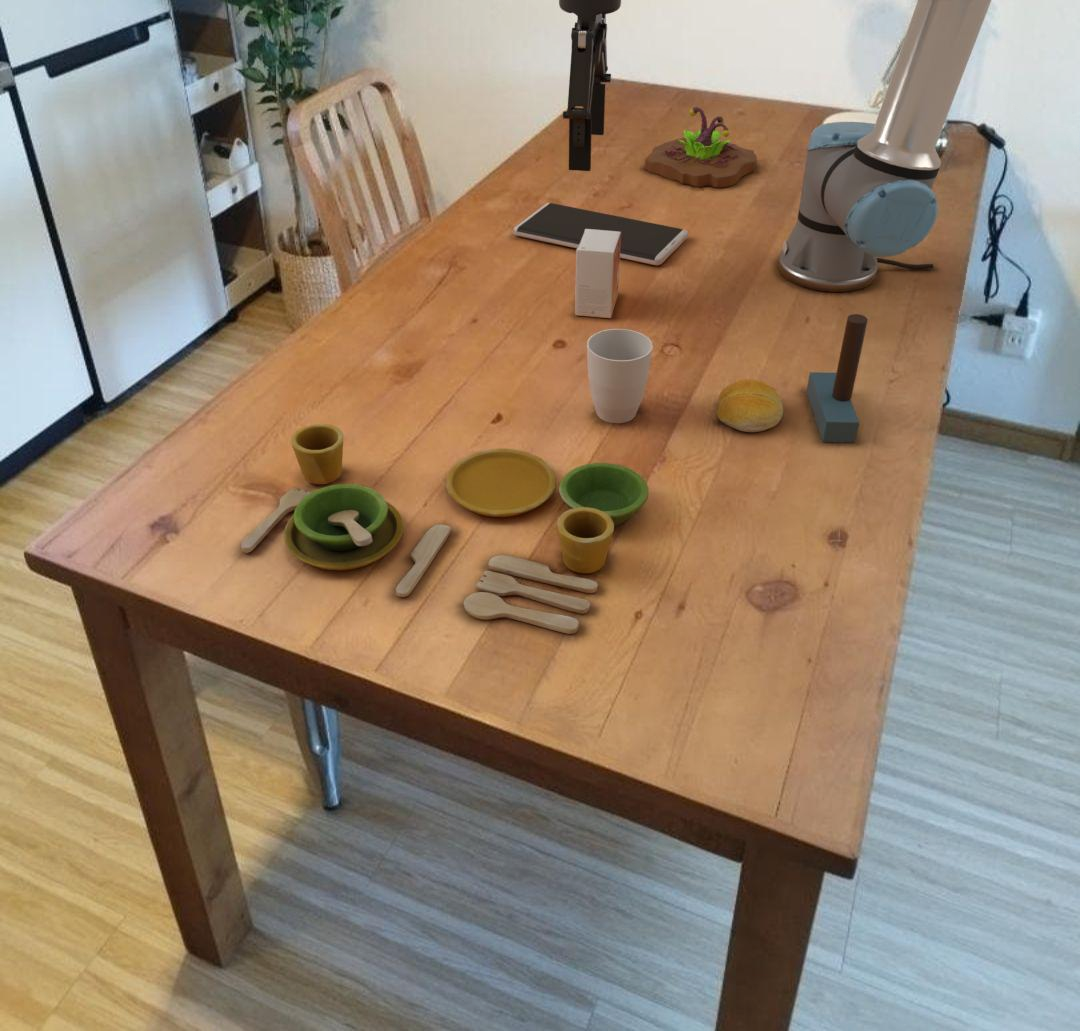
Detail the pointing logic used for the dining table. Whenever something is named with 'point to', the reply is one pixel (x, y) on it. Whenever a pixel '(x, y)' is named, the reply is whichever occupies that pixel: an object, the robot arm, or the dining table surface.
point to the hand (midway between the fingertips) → (586, 151)
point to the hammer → (839, 387)
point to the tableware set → (476, 484)
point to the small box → (597, 273)
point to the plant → (702, 157)
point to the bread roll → (750, 406)
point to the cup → (618, 372)
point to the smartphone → (571, 222)
